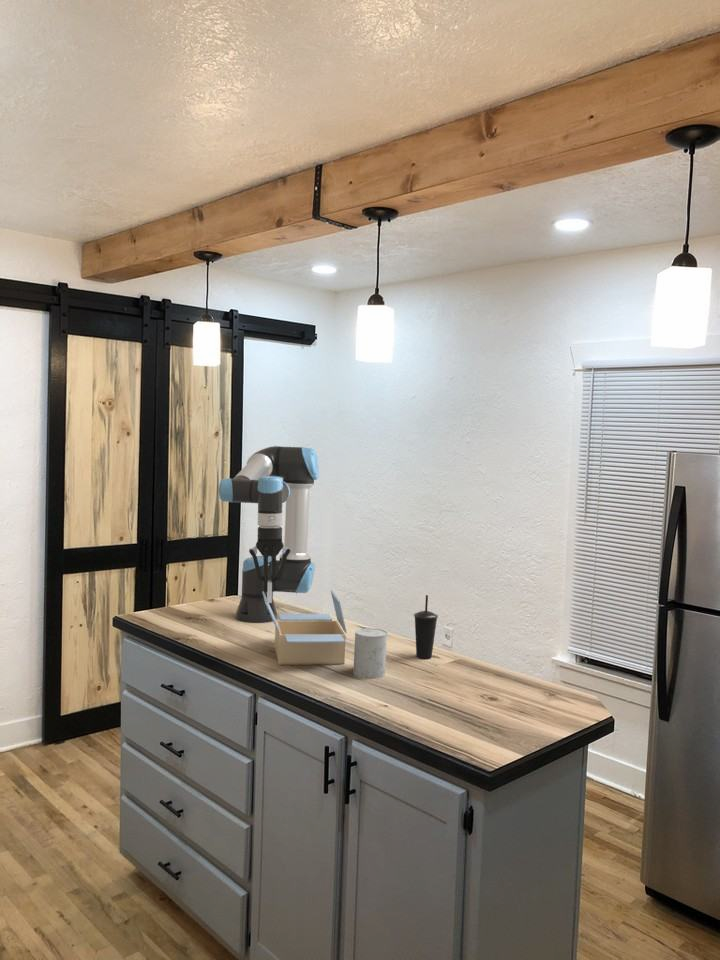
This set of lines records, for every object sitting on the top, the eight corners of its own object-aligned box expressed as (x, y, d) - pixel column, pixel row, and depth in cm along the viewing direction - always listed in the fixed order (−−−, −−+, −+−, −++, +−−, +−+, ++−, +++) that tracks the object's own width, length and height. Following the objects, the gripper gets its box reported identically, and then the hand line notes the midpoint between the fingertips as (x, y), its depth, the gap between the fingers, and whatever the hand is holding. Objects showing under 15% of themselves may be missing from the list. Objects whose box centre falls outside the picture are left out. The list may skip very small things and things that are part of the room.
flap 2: (330, 590, 249) (331, 590, 249) (337, 619, 250) (338, 619, 250) (338, 601, 232) (339, 601, 232) (345, 633, 233) (346, 632, 233)
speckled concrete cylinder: (386, 669, 230) (388, 629, 229) (384, 679, 220) (386, 637, 219) (354, 667, 231) (356, 627, 230) (351, 677, 221) (353, 635, 220)
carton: (272, 641, 255) (274, 613, 255) (332, 641, 259) (333, 613, 258) (280, 673, 221) (282, 641, 221) (348, 672, 225) (350, 641, 224)
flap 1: (275, 619, 246) (274, 619, 246) (263, 591, 245) (262, 591, 245) (279, 632, 229) (278, 633, 229) (266, 602, 228) (265, 603, 228)
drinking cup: (408, 657, 243) (411, 595, 242) (417, 652, 250) (420, 591, 249) (430, 662, 240) (433, 599, 239) (439, 656, 246) (442, 595, 245)
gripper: (249, 528, 230) (249, 605, 232) (291, 527, 233) (291, 604, 234) (248, 525, 238) (247, 599, 239) (289, 524, 240) (288, 598, 242)
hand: (269, 602), depth 237 cm, fingers closed
